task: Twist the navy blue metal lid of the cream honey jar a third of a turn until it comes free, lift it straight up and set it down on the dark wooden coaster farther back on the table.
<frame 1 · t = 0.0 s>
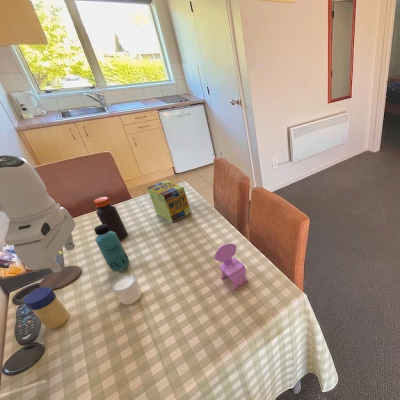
hand: (65, 258, 74), 24 cm above the table, tool pointing down, fingers open, 8 cm apart
protein box: (174, 213, 138), on the table
coaster: (61, 278, 100), on the table
toy chair: (234, 280, 98), on the table
honey jar: (58, 320, 84), on the table
vinegar: (119, 237, 121), on the table
lid: (38, 295, 78), point 12 cm above the table, screwed on, not yet turned
shot glass: (131, 298, 92), on the table
beverage bottle: (122, 268, 104), on the table
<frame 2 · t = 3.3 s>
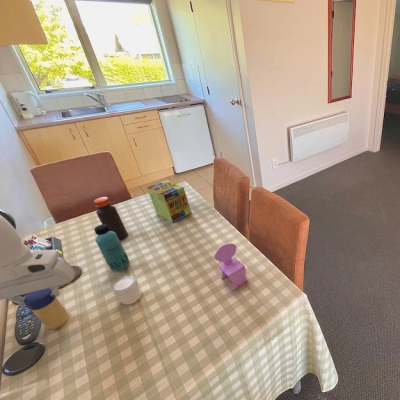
hand: (41, 299, 79), 10 cm above the table, tool pointing down, fingers closed on lid, 6 cm apart
lid: (38, 295, 78), point 12 cm above the table, screwed on, not yet turned, touching gripper
everything else where it was.
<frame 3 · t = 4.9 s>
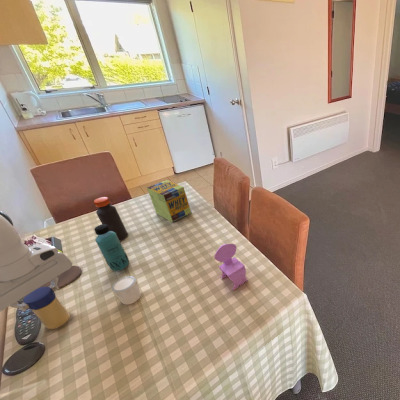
hand: (41, 299, 79), 10 cm above the table, tool pointing down, fingers closed on lid, 6 cm apart
lid: (38, 295, 78), point 12 cm above the table, turned 47° so far, risen 0.1 cm, still on its thread, touching gripper
everything else where it was.
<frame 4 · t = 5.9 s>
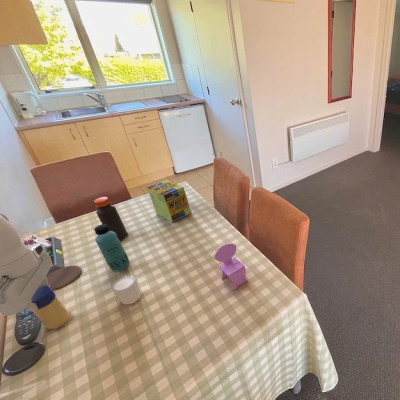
hand: (41, 298, 79), 10 cm above the table, tool pointing down, fingers closed on lid, 6 cm apart
lid: (37, 295, 78), point 12 cm above the table, turned 90° so far, risen 0.2 cm, still on its thread, touching gripper
everything else where it was.
when the fingers open (1 cm above the table, at t = 15.5 s): lid stays where it is, resting on coaster.
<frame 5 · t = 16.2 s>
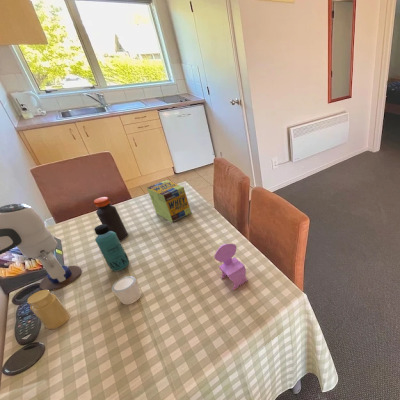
hand: (58, 274, 99), 2 cm above the table, tool pointing down, fingers open, 8 cm apart
lid: (57, 272, 98), point 3 cm above the table, off its thread, touching coaster
everything else where it was.
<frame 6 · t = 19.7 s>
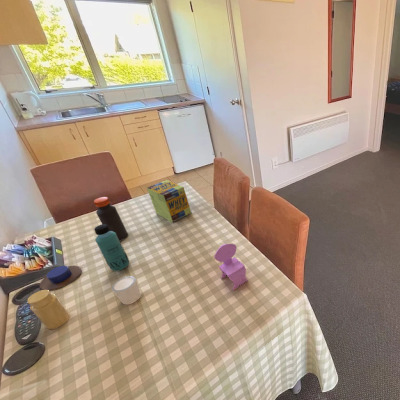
nothing on the table moved.
at the end: lid came off its thread; lid 0.2 cm off-centre on the coaster, point 3.1 cm above the coaster's base; the gripper is holding nothing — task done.
